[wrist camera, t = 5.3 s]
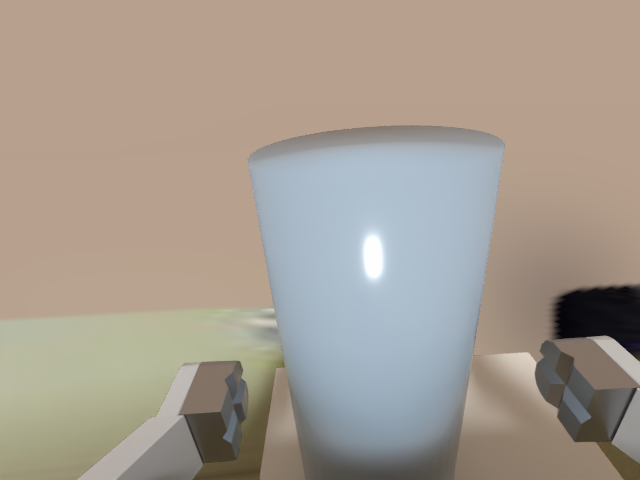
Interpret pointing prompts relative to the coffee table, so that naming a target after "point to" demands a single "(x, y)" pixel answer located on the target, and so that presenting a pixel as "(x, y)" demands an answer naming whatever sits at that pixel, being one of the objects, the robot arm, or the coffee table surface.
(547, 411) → the mat
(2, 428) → the coffee table surface
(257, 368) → the coffee table surface
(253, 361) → the coffee table surface
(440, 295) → the pale blue cylinder
